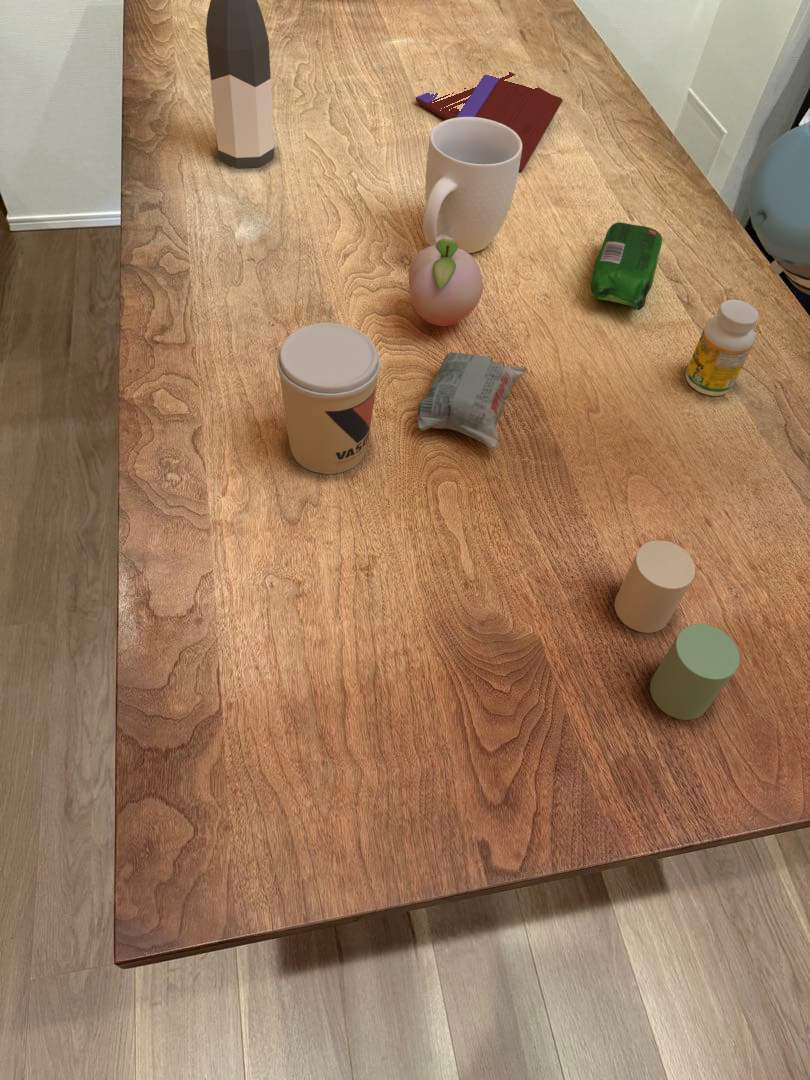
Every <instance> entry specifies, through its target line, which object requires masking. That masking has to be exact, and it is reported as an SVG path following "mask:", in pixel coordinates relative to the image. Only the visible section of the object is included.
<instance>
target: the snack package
mask: <svg viewBox="0 0 810 1080" xmlns="http://www.w3.org/2000/svg"><path fill="white" fill-rule="evenodd" d="M606 231H607V232H606V233H605V237H604V239H603V242H602V244H601V246H600V249H599V252H598V254H597V257H596V260H595V263H594V268H593V271H592V275H591V280H590V287H589V288H590V293H591V294H592V296H593V297H594V299H597V300H601V301H608V302H613V303H618V304H619V305H624V306H631V307H634V308H633V310H636V311H641V310H642V309H643V308H644V307H645V305H646V299H647V296H648V295H649V292H650V290H651V289H652V285H653V283H654V279H655V275H656V271H657V265H658V260H659V255H660V252H661V249H662V244H663V236H662V234H661V233H660V232H659V231H658V230H656V229H654V228H652V227H649V226H646V225H645V226H644V225H639V224H638V225H637V224H632V223H626V222H615V223H613V224H611V225H610V227H609V228H608V229H607V230H606Z"/></svg>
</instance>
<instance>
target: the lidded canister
mask: <svg viewBox="0 0 810 1080" xmlns="http://www.w3.org/2000/svg"><path fill="white" fill-rule="evenodd" d="M375 345H376V344H375V343H374V342H373V341H372V339H371V338H370V337H369V336H367V334H365V333H364V332H363V331H360V330H359V329H357V328H355V327H353V326H350V325H347V324H343V323H336V322H318V323H312V324H308V325H305V326H303V327H300V328H298V329H296V330H295V331H293V332H292V333H290V334H289V335H288V336H287V337H286V338H285V340H284V341H283V342H282V344H281V346H280V347H279V350H278V353H277V355H276V356H277V358H276V366H277V370H278V373H279V379H280V381H279V382H280V387H281V394H282V402H283V409H284V416H285V424H286V430H287V436H288V437H287V438H288V442H289V448H290V453H291V454H292V456H293V458H294V460H295V461H296V462H297V463H298V464H299V465H300V466H302V467H303V468H305V469H307V470H309V471H311V472H313V473H317V474H324V475H336V474H342V473H345V472H347V471H348V472H349V470H352V469H353V468H355V467H356V466H358V464H360V463H361V461H362V460H363V458H364V457H365V455H366V452H367V448H368V443H369V438H370V431H371V425H372V420H373V419H372V418H373V414H374V413H373V411H374V405H375V398H376V392H377V384H378V376H379V374H380V370H381V356H380V352H379V351H378V349H377V347H376V346H375Z"/></svg>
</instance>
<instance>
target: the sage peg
mask: <svg viewBox="0 0 810 1080" xmlns="http://www.w3.org/2000/svg"><path fill="white" fill-rule="evenodd" d="M740 658H741V657H740V651H739V648H738V646H737V645H736V642H735V641H734V640H733V639H732V637H730V636H729V635H728V634H727V633H726V632H725V631H724V630H722V629H720V628H718V627H715V626H713V625H710V624H705V623H695V624H691V625H688V626H686V627H684V628H682V630H681V631H680V632H679V633H678V634H677V636H676V638H675V640H673V642H672V644H671V646H670V648H669V649H668V650H667V653H666V654H665V656H664V657H663V659H662V661H661V662H660V664H659V666H658V667H657V669H656V671H655V672H654V673H653V676H652V677H651V679H650V683H649V690H650V695H651V698H652V700H653V702H654V704H655V705H656V706H657V707H658V709H660V710H661V711H662V712H663V713H664V714H665V715H667V716H669V717H671V718H674V719H676V720H681V721H691V720H695V719H697V718H700V717H701V716H702V715H704V713H706V711H707V710H708V708H709V707H710V706H711V704H712V703H713V702H714V701H715V699H716V698H717V697H718V696H719V694H720V693H721V692H722V690H723V689H724V687H725V686H726V685H727V684H728V682H729V681H730V680H731V678H732V677H733V676H734V674H735V673H736V671H737V670H738V669H739V666H740V661H741V659H740Z"/></svg>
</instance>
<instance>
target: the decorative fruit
mask: <svg viewBox="0 0 810 1080" xmlns="http://www.w3.org/2000/svg"><path fill="white" fill-rule="evenodd" d="M408 283H409V290H410V300H411V304H412V306H413V308H414V310H415V312H416V313H417V314H418V315H419V316H420V317H421V318H422V319H423V320H424V321H425V322H428V323H429V324H430V325H431V324H432V325H436V326H441V327H447V326H452V325H456V324H457V323H459V322H461V321H463V320H464V319H465V318H467V317H468V316H469V315H470V314H471V313H472V312H473V311H474V310H475V309H476V308H477V306H478V304H479V303H480V301H481V298H482V294H483V292H484V291H483V290H484V281H483V276H482V271H481V268H480V265H479V264H478V262H477V261H476V259H475V258H474V257H473V255H471V253H467V252H466V251H464V250H462V249H459V248H458V245H457V244H456V242H455V241H453V240H451V239H446V238H443V239H441V240H439V241H438V242H437V243H436V245H432V246H431V245H430V246H427V247H425V248H422V249H421V250H420V251H419V252H418V253H417V254H416V255H415V256H414V257H413V258H412V260H411V262H410V264H409V268H408Z"/></svg>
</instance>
